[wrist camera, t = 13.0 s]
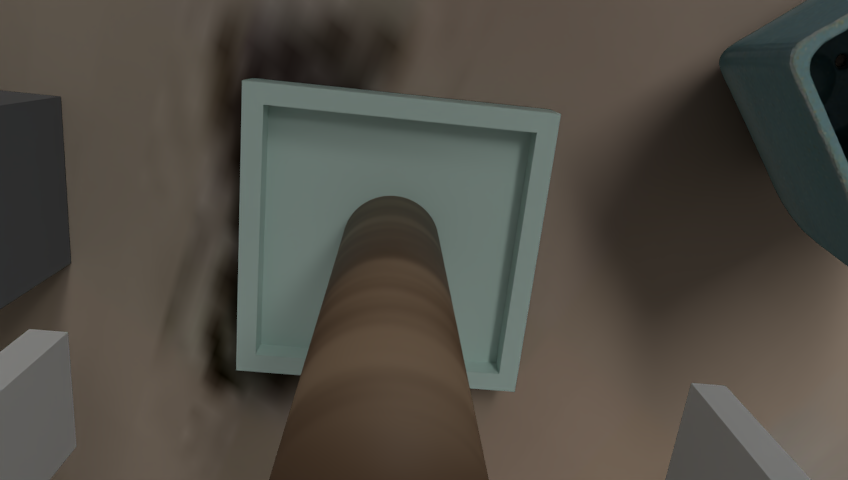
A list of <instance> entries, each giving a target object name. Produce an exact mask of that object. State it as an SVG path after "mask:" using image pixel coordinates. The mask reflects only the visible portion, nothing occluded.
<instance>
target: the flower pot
mask: <svg viewBox="0 0 848 480" xmlns="http://www.w3.org/2000/svg"><path fill="white" fill-rule="evenodd" d="M840 54H844V55H845V56H846V57H847V61H846V64H845V66H843V67H841V68H838V67H836V64H835V60H836V58H837V56H839V55H840ZM719 65H720V69H721V72H722V74H723V77H724V79H725V81H726V83H727V85H728V87H729V89H730V91H731V94H732V96H733V98H734V100H735V102H736V104H737V106H738V109H739V111H740V113H741V115H742V117H743V119H744V121H745V124H746V126H747V128H748V130H749V132H750V134H751V137H752V139H753V141H754V143H755V145H756V148H757V150H758V152H759V154H760V156H761V159H762V161H763V163H764V165H765V167H766V170H767V172H768V174H769V176H770V179H771V181H772V183H773V186H774V188H775V190H776V192H777V194H778V196H779V198H780V199H781V201H782V203H783V204H784V206H785V208H786V209H787V211H788V212H789V214H790V215H791V217H792V218H793V219H794V220H795V222H796V223H797V224H798V225H799V227H800V228H801V229H802V230H803V231H804V232H805V233H806V234H807V235H809V236H810V237H811V238H812V239H813V240H814V241H816V242H817V243H818V244H819V245H821V246H822V247H823V248H825V249H826V250H827V251H828V252H830V253H831V254H832V255H834V256H835V257H836V258H838V259H839V260H840V261H842V262H843V263H844V264H846V265H847V266H848V0H807V1H805V2H803V3H802V4H800V5H798V6H797V7H795V8H793V9H792V10H790V11H788V12H787V13H785V14H783V15H782V16H780V17H778V18H777V19H775V20H773V21H772V22H770V23H768V24H767V25H765V26H763V27H762V28H760V29H758V30H757V31H755V32H753V33H751V34H750V35H748V36H746V37H744V38H743V39H741V40H739V41H737V42H736V43H734V44H733V45H731V46H730V47H729V48H727V49H726V50H725V51H724V52H723V54H722V55H721V57H720V61H719Z"/></svg>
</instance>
